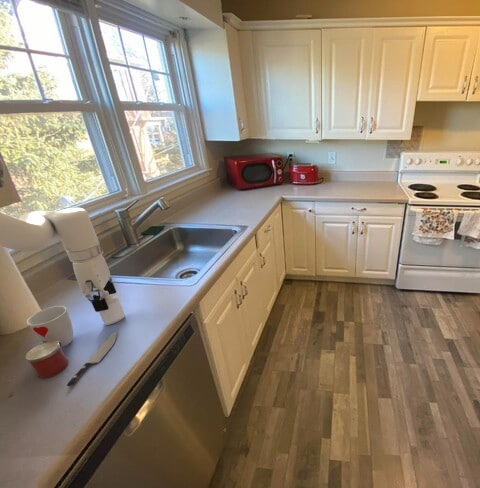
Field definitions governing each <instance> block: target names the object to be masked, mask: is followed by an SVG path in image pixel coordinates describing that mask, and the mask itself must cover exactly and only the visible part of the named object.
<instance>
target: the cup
mask: <svg viewBox="0 0 480 488" xmlns="http://www.w3.org/2000/svg"><path fill="white" fill-rule="evenodd" d="M26 324H27V325H28V327H29V328H30V329H31V331H32V332H33V333H34V335H35V336H36V337H37V339H39V340H40V341H41V342H42V343H45V342H48V341H57V342H59V344H60V347H61V348H64V347H66V346H68V345H69V344H70V343H72V342H73V340H74V328H73V323H72V318H71V317H70V314H69V312H68V309H67V307H66V306H64V305H55V306H50V307H46V308H44V309H42V310H39V311H37V312H35V313H34V314H32V315H31V316H29V318H28V319H27V320H26Z"/></svg>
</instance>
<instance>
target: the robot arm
mask: <svg viewBox="0 0 480 488" xmlns="http://www.w3.org/2000/svg"><path fill="white" fill-rule="evenodd" d="M57 236H58V238H59V240H60V242H61V244H62V246H63V248H64V250H65V252H66V255H67V257H68V259H69V261H70V262H71V263H72V269H73V272H74V275H75V279H76V281H77V284H78V286H79V289H80V291H81V293H82V294H83V295H84V296H85V298H86V299H87V300H88V301H89V302H90V303H91V305H92V308H93V310H94V311H95V313H99V311H104V310H108V308H109V307H108V305H107V302H106V300H105V298H103V296H102V290H103V289H104V291H108V293H109V295H110V296H111V295H114V294H117V289H116V287H115V285H114V282H113V279H112V277H111V271H110V268H109V266H108V263H107V261H106V259H105V257H104V255H103V254H104V251H103V248H102V246H101V243H100V239H99V237H98V236H97V233H96V231H95V228H94V225H93V223H92V220H91V218H90V215H89V213H88V211H87V210H86V209H84V208H82V207H69V208H63V209H59V210H33V211H28V212H25V213H23V214H22V215H21V216H19V217H15V216H13V215H10V214H8V213H6V212H4V211H1V210H0V247H3V248H7V249H10V250H14V251H19V252H27V253H28V252H36V251H39V250H42V249H43V248H45V247H46V246H47V245H48V244H49V243H50V241H51V240H52V238H54V237H57ZM94 293H98V294H94Z"/></svg>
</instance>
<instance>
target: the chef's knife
mask: <svg viewBox="0 0 480 488" xmlns="http://www.w3.org/2000/svg"><path fill="white" fill-rule="evenodd" d="M116 338H117V332H116V331H114V332H112V334H111V335H110V336H109V337H108V338H107V339H106V340H105V342H103V343H102V344H101V346H100V347H99V348H97V350H96V351H95V352H94V353H93V354H92V356H91V357H90V358H89V359H88V360H87V361H86V362H85V363H84V364H83V366H82V367H81V368H80V369H79V370H78V371H77V372H76V373H75V374H74V376H73V377H72V378H71V379H69V380H68V382H67V384H66V387H71V386H73V385H74V384H75V383H76V381H77V379H79V377H80V376H81V375H82V374H83V372H85V371H86V369H88V367H89V366H91V365H95V364H99V363H100V362H101V360H102V359H103V358H104V357H105V356H106V355H107V353H108V352H109V351H110V349H111V348H112V347H113V345H114V344H115V341H116Z"/></svg>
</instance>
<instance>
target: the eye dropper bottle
mask: <svg viewBox="0 0 480 488" xmlns="http://www.w3.org/2000/svg"><path fill="white" fill-rule="evenodd" d="M102 296H103V298H105V300H106V302H107V305H108V307H109V308H108V310H104V311H99V312H98V315H99V316H100V318H101V321H102V323H103V324H104V325H105V326H109V325H113V324H116V323H117V322H120V321H121V320H123V319H124V318H125V317H126V314H125V312H124V310H123V307H122V304H121V302H120V299H119V298H118V296H116V295H111V294H110V295H109V293H108V291H104V289H103V290H102Z"/></svg>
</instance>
